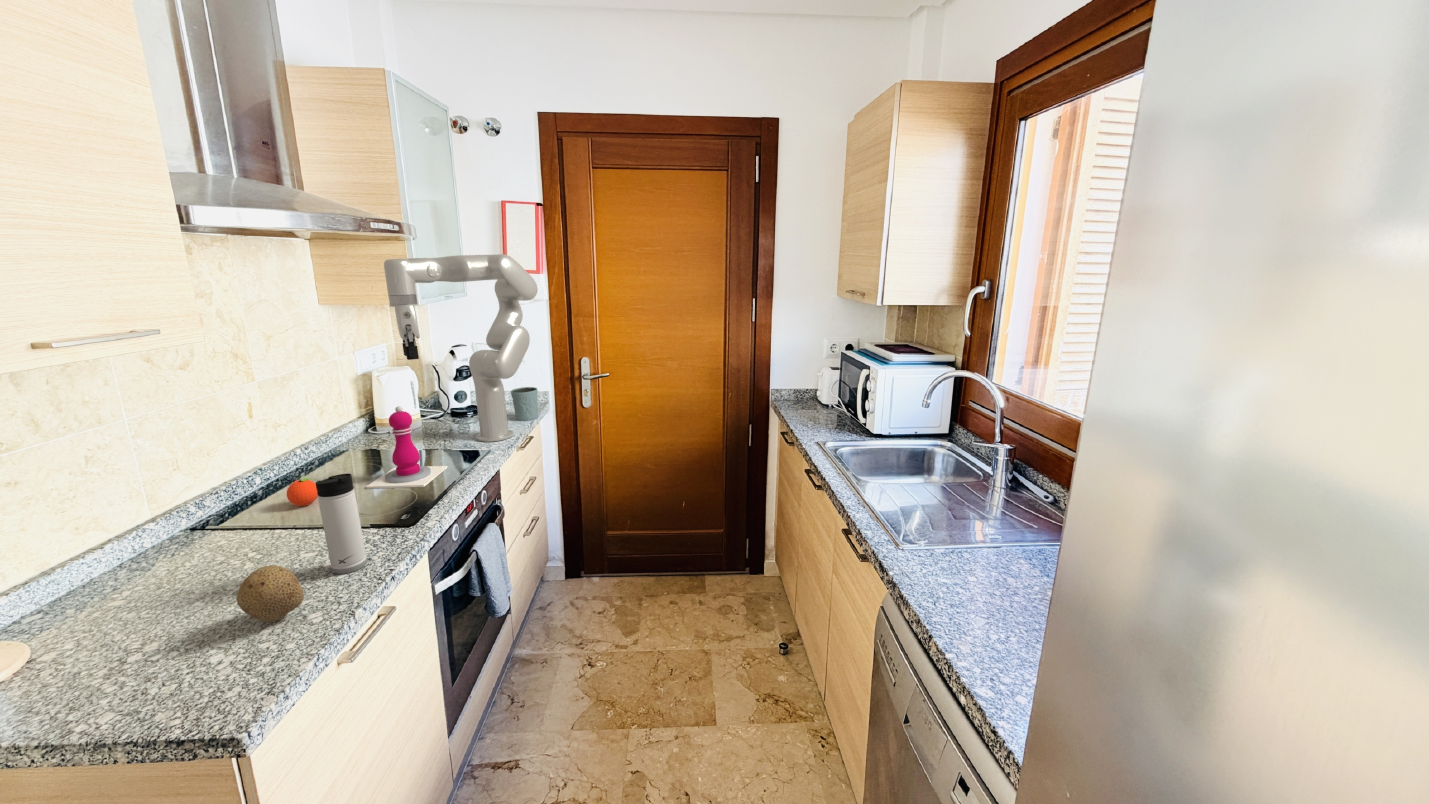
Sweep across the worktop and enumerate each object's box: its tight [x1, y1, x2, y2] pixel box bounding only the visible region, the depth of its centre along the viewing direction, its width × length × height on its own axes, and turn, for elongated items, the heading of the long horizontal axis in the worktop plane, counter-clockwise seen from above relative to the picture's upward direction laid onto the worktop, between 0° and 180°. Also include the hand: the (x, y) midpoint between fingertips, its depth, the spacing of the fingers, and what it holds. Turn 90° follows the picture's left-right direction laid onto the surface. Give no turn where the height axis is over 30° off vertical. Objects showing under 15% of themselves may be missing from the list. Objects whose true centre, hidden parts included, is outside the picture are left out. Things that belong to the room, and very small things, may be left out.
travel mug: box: [315, 473, 368, 575], centre depth 119 cm, size 6×7×20 cm
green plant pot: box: [510, 386, 539, 422], centre depth 235 cm, size 10×10×12 cm
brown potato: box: [236, 565, 305, 623], centre depth 103 cm, size 9×9×10 cm
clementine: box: [286, 477, 319, 507], centre depth 154 cm, size 8×7×7 cm
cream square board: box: [365, 465, 448, 490], centre depth 172 cm, size 16×16×2 cm
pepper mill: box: [388, 405, 421, 476], centre depth 170 cm, size 7×7×20 cm
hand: (411, 357), depth 180 cm, fingers open, 9 cm apart
